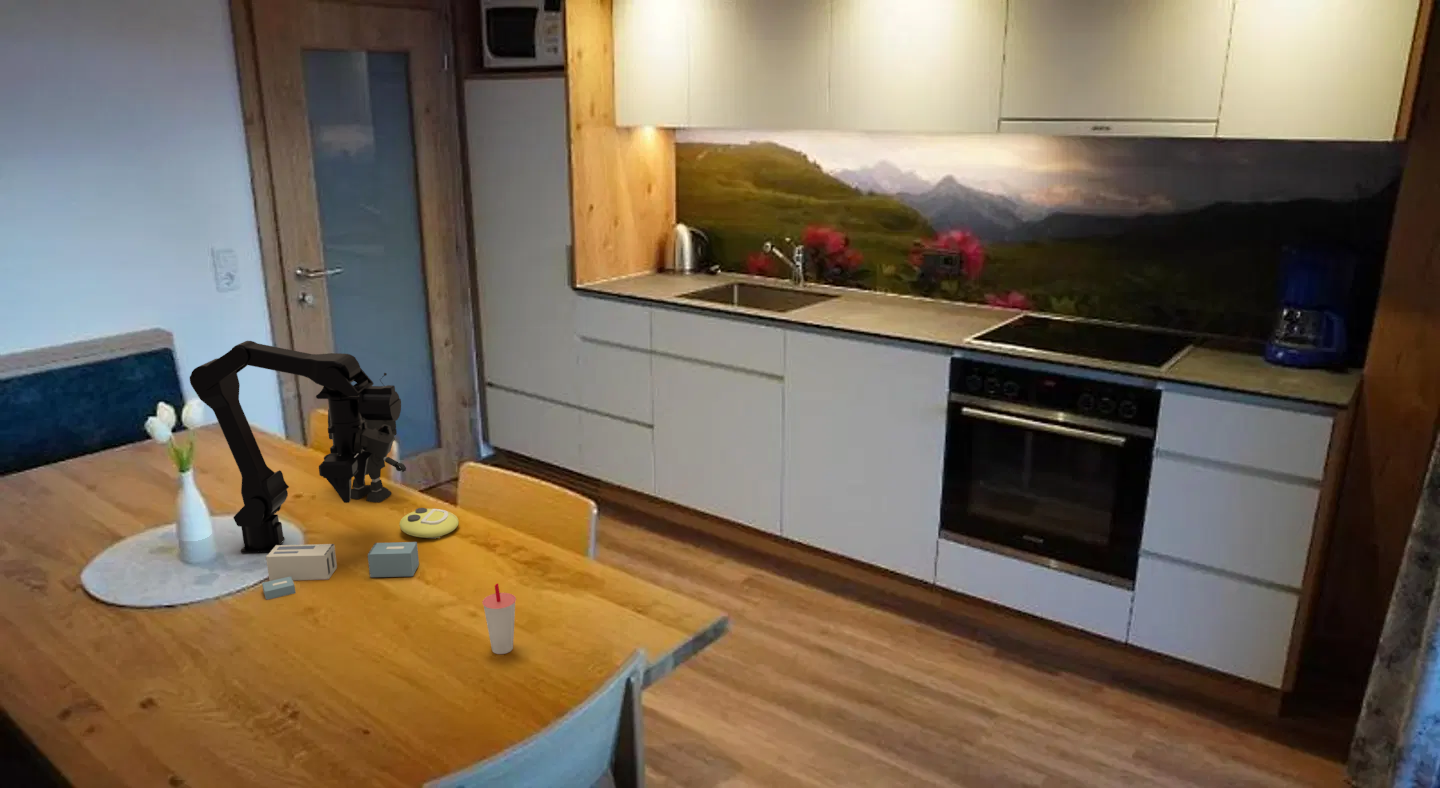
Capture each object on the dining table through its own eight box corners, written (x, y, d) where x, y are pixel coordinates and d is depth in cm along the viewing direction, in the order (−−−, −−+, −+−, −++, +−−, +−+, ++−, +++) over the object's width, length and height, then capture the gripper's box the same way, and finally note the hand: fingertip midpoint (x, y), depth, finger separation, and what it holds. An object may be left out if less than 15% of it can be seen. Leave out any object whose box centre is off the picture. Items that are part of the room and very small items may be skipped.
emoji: (466, 506, 210) (413, 500, 211) (446, 529, 199) (389, 523, 200) (466, 522, 211) (413, 516, 212) (446, 547, 200) (390, 540, 201)
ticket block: (269, 580, 184) (265, 556, 182) (279, 568, 189) (275, 544, 187) (328, 579, 185) (325, 554, 183) (337, 567, 189) (334, 543, 188)
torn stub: (266, 601, 177) (264, 591, 176) (263, 592, 180) (261, 582, 180) (295, 594, 180) (294, 584, 179) (292, 585, 183) (290, 575, 182)
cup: (481, 656, 159) (476, 590, 155) (491, 639, 164) (486, 575, 160) (514, 658, 158) (509, 591, 155) (522, 640, 164) (518, 576, 160)
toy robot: (421, 494, 225) (410, 369, 216) (396, 509, 216) (383, 380, 208) (344, 483, 232) (330, 361, 223) (317, 497, 223) (301, 371, 215)
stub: (370, 577, 185) (367, 553, 184) (377, 565, 190) (374, 542, 188) (412, 576, 185) (410, 552, 184) (419, 564, 190) (416, 541, 189)
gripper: (374, 434, 181) (382, 511, 186) (400, 404, 199) (406, 475, 204) (313, 435, 181) (323, 512, 185) (344, 405, 198) (352, 476, 203)
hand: (354, 493), depth 194 cm, fingers open, 9 cm apart
